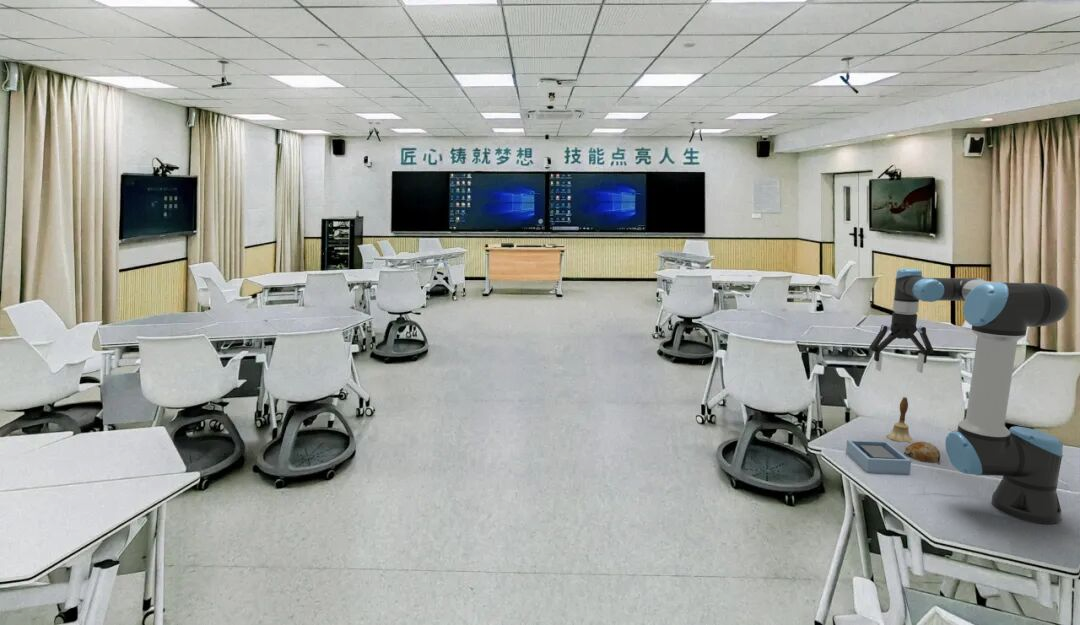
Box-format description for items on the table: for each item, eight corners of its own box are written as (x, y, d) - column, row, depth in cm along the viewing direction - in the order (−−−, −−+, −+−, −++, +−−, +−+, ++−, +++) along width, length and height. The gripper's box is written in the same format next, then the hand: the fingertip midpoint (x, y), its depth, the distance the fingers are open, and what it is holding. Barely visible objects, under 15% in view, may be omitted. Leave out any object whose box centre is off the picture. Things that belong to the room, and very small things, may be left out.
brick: (895, 469, 188) (896, 458, 187) (872, 468, 189) (873, 457, 188) (880, 457, 198) (881, 445, 197) (858, 456, 199) (859, 445, 198)
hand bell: (912, 437, 218) (917, 396, 216) (912, 444, 211) (917, 402, 209) (887, 432, 223) (891, 392, 220) (886, 439, 216) (890, 398, 213)
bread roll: (930, 477, 193) (945, 459, 190) (899, 457, 198) (914, 439, 195) (932, 466, 201) (947, 449, 198) (903, 448, 206) (916, 431, 203)
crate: (909, 477, 185) (911, 460, 184) (866, 475, 186) (868, 459, 185) (885, 456, 201) (886, 441, 200) (845, 455, 202) (847, 440, 201)
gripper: (938, 311, 207) (931, 369, 210) (862, 309, 211) (857, 366, 214) (949, 315, 199) (942, 375, 203) (870, 313, 204) (865, 371, 207)
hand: (898, 370), depth 209 cm, fingers open, 13 cm apart
